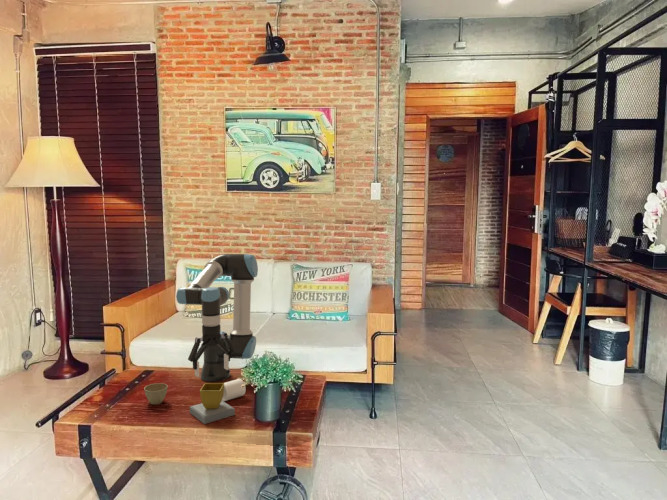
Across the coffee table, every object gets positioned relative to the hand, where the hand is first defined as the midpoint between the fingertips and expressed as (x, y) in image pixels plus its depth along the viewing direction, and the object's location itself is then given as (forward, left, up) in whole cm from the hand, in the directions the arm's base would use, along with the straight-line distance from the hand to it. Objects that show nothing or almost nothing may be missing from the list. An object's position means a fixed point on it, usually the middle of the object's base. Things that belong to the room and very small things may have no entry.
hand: (212, 372), depth 205 cm
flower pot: (0, 0, -15) cm, 15 cm away
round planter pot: (+14, -27, -18) cm, 35 cm away
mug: (-15, -12, -19) cm, 26 cm away
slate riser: (0, 0, -18) cm, 18 cm away
